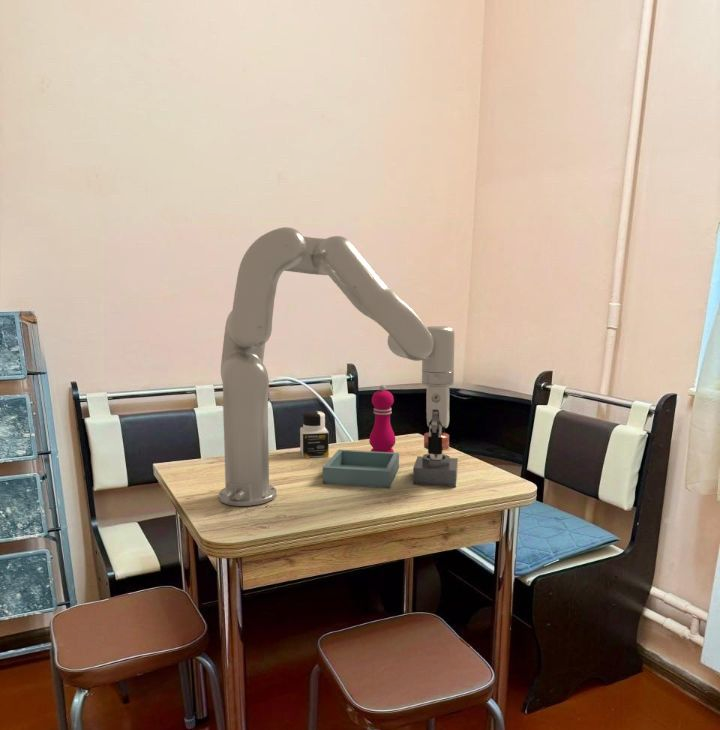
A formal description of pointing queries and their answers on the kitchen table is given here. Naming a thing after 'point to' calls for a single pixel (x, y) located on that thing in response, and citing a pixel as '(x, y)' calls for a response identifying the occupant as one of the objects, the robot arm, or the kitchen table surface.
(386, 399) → the pepper mill
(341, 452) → the tray
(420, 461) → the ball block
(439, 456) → the rounded copper knob
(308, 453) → the medicine bottle
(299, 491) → the kitchen table surface
